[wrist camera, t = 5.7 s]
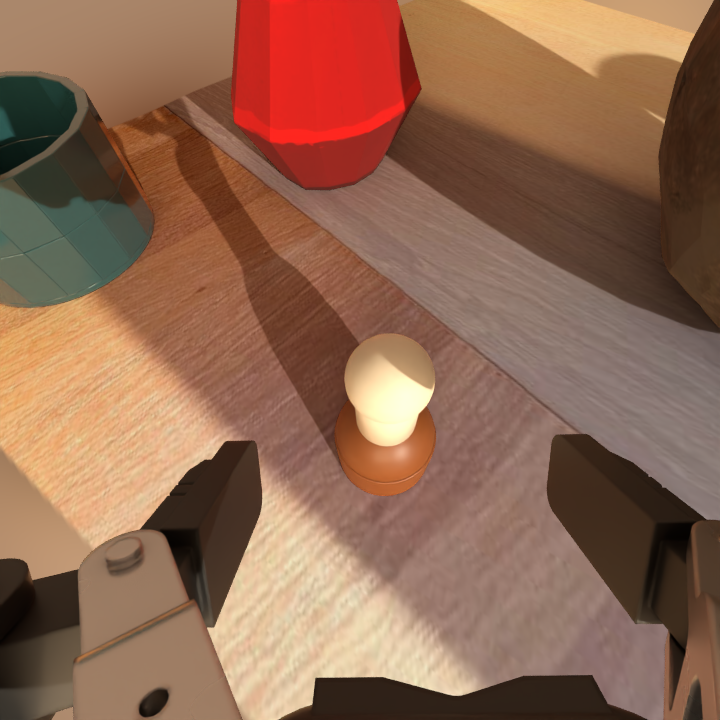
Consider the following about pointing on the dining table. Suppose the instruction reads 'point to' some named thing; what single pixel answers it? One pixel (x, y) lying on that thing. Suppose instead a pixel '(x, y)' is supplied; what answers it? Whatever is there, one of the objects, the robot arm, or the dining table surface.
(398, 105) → the bottle
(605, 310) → the dining table surface
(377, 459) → the drumstick
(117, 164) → the bowl
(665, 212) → the pot
